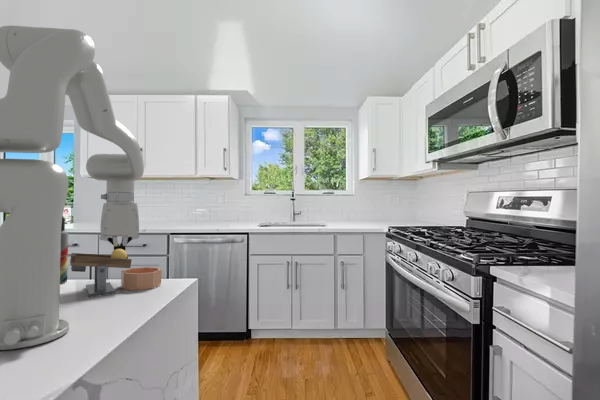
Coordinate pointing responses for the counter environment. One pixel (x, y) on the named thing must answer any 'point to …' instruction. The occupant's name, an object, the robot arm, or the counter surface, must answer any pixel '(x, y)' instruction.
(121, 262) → the tilt chute
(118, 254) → the ball
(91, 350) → the counter surface
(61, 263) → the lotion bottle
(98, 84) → the robot arm
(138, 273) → the terracotta bowl
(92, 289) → the chute stand
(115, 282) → the counter surface
